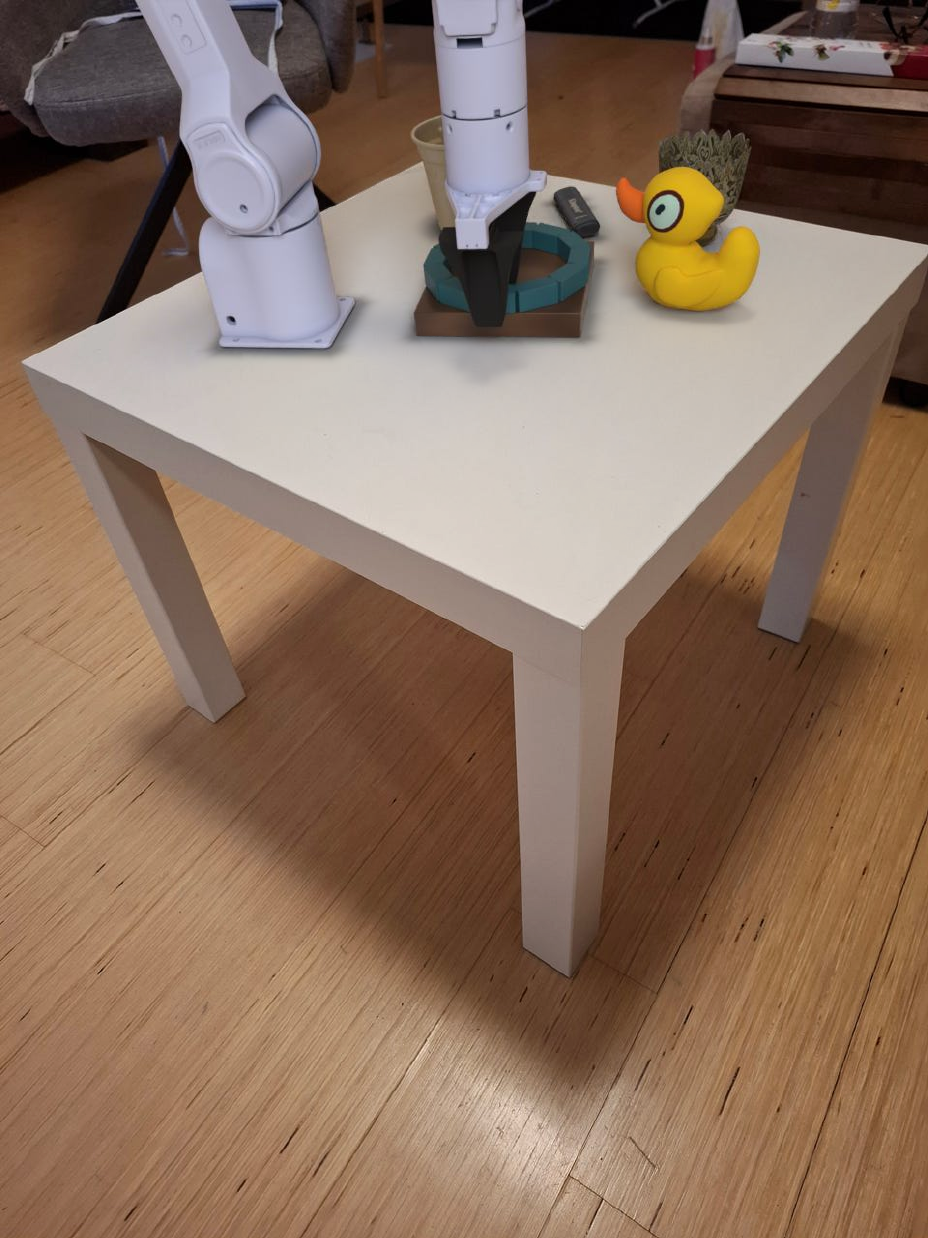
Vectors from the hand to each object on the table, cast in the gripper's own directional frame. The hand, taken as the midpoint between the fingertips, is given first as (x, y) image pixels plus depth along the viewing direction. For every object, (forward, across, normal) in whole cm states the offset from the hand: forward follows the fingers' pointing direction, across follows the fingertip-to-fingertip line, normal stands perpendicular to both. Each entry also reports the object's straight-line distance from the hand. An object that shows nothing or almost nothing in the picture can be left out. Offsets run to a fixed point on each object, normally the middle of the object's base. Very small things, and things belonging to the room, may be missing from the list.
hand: (496, 303), depth 67 cm
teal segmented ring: (0, +6, 0) cm, 6 cm away
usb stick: (+3, +22, -4) cm, 22 cm away
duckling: (+3, +5, -14) cm, 15 cm away
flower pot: (+3, +21, +6) cm, 22 cm away
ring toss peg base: (+2, +6, 0) cm, 6 cm away
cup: (+3, +17, -15) cm, 23 cm away
